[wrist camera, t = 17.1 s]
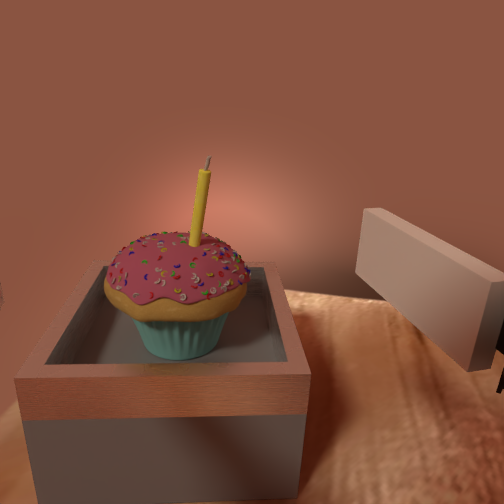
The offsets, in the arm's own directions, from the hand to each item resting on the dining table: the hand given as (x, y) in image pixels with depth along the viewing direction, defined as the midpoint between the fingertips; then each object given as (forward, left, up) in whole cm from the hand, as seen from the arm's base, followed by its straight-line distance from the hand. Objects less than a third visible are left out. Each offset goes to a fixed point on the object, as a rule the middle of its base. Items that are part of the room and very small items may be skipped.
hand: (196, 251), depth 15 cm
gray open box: (+2, -10, -16) cm, 19 cm away
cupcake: (+2, -9, -10) cm, 14 cm away
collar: (+2, -10, -10) cm, 14 cm away
